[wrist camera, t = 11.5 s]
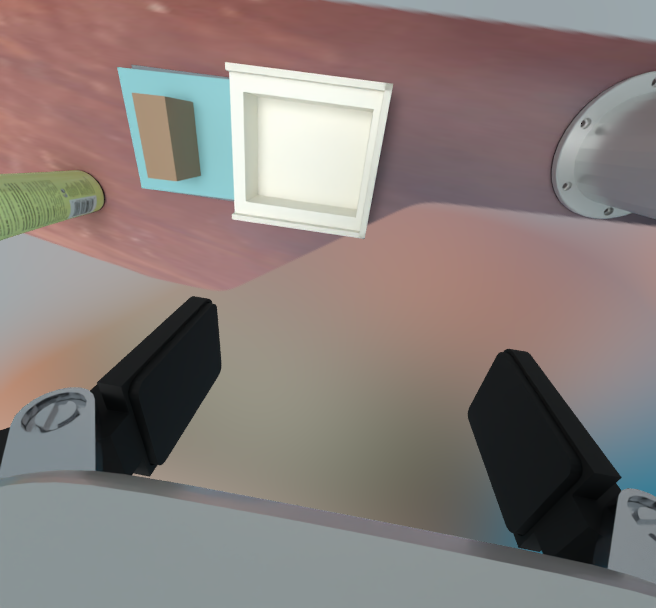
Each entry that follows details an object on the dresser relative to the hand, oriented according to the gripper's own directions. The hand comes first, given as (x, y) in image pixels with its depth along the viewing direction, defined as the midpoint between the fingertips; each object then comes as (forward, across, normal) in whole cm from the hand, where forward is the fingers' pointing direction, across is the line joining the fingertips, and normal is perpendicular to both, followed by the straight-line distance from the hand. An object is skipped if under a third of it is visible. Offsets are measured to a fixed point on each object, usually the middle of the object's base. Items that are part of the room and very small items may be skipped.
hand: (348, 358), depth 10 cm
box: (+28, +6, -4) cm, 29 cm away
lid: (+28, +20, -4) cm, 34 cm away
